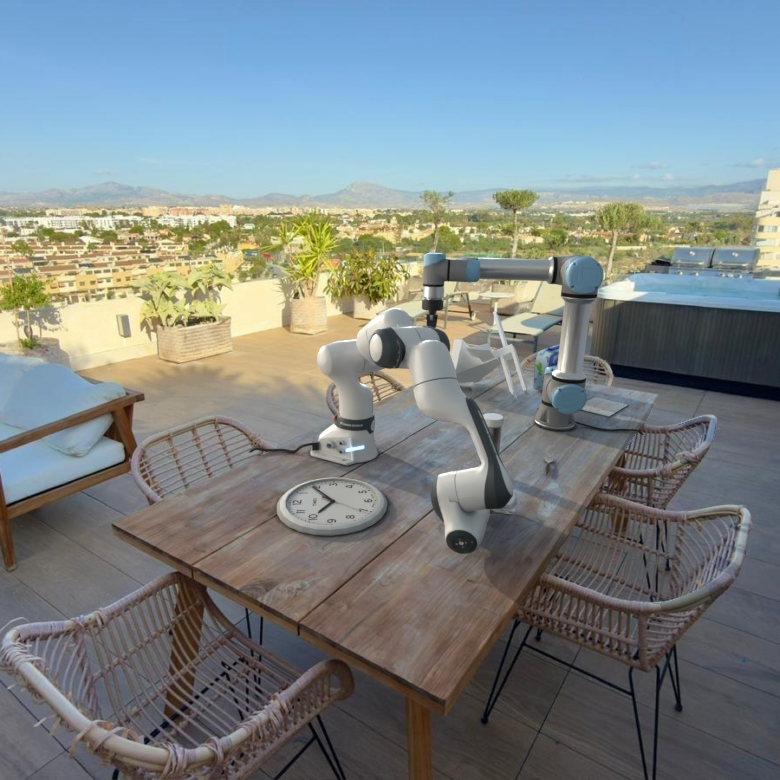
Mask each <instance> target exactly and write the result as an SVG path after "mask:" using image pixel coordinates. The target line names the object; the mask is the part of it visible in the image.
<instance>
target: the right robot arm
mask: <svg viewBox="0 0 780 780" xmlns="http://www.w3.org/2000/svg"><path fill="white" fill-rule="evenodd" d="M422 264H423V265H422V288H420V292H422V295H421V296H422V299H421V309H422V310H423V311H428V313H426V317H425V320H426V326H429V327H433V328H437V324H438V320H439V319H438V318H439V314H437V311H438V312H439V311H442V310H444V297H445V282H447V283H449V282H452V283H453V282H455V283H468V284H470V283H478V282H479V281H480V280H495V281H497V280H499V281H500V280H501V281H526V282H527V281H530V282H546V283H547V284H548V285H557V286H561V289H560V297H561V298H562V300H563V302H564V306H563V313H562V322H561V331H560V340H559V345H560V347H559V356H558V364H557V366H553V367H547V368H546V369H545V373H544V382H543V391H541V392H542V394H541V402H540V405H539V407H537V409H536V413H535V417H534V424H535V425H536V426H537V427H539V428H542V429H544V430H549V431H556V432H567V431H572V430H574V429H575V428H576V425H579V426H582V427H586V428H588V429H593V430H598V431H603V432H636V433H638V434H640V435H641V436H644V433H643V432H642V431H641V430H639V429H636V428H603V427H598V426H593V425H590V424H586V423H583V422H581V421H580V422H579V421H576V418H575V417H576V416H575V414H576V413H579V412H580V411H582V410H581V409H582V408H583V407H584V406H585V404H586V401H588V397H587V392H586V383H587V382H586V381H587V375H586V374H585V373H584V371H583V369H584V363H585V362H584V361H585V355H586V347H587V339H588V330H589V324H590V318H591V317H590V316H591V308H592V303H593V302H594V301H596V300H597V299H598V294H599V293H598V291H599V288H601V285H602V284H603V281H604V275H605V274H604V269H603V267H602V265H601V264H600V262H599V261H598V260H596V259H595V258H594V257H592V256H587V255H581V254H574V255H573V254H572V255H565V256H551V257H549V258H548V259H545V258H544V259H543V258H542V259H541V258H540V259H539V258H501V257H500V258H497V257H496V258H495V257H494V258H492V257H466V256H460V257H457V258H455V259H451V258H449V259H448V258H447V256H446V253H444V252H428V253H425V254H424V255H423V263H422Z"/></svg>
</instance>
